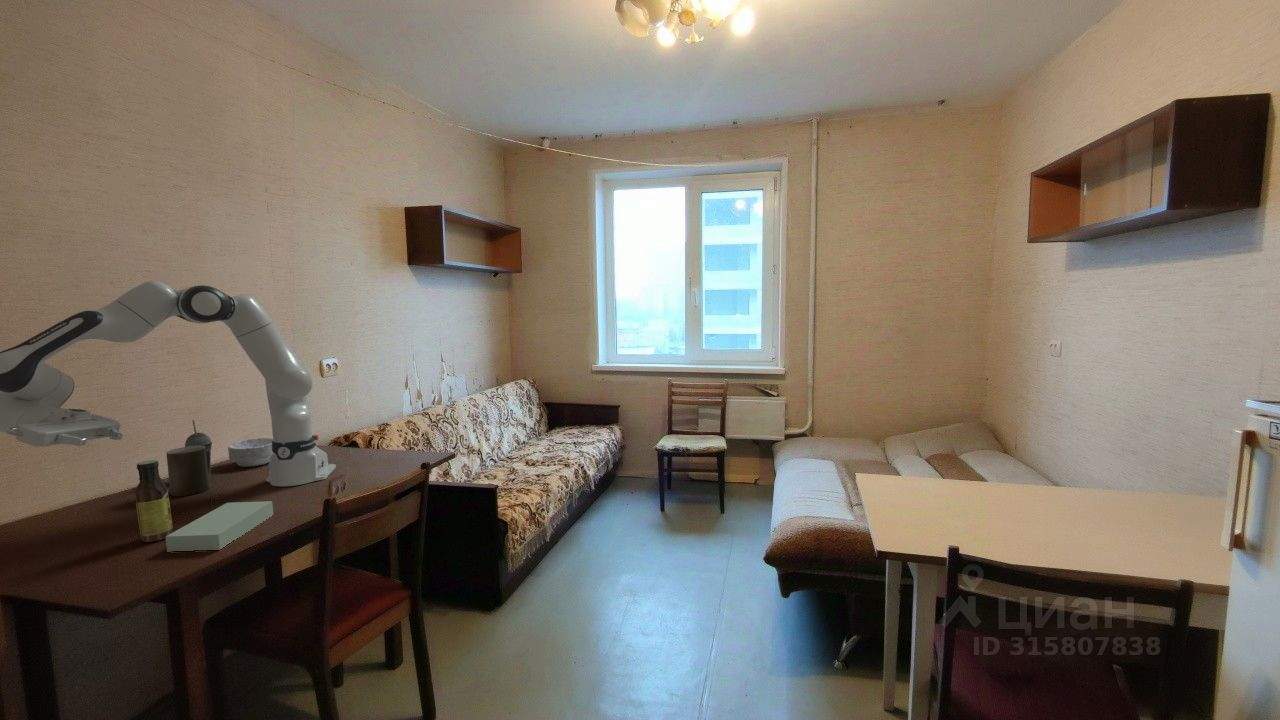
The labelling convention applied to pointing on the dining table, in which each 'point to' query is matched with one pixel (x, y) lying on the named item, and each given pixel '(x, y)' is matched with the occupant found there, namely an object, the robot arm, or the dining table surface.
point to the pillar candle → (187, 470)
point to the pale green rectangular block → (219, 526)
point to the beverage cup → (201, 444)
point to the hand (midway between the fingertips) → (102, 439)
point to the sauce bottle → (152, 503)
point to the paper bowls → (251, 452)
